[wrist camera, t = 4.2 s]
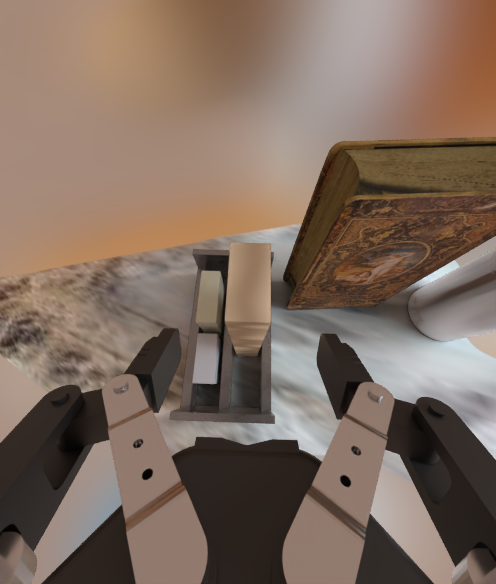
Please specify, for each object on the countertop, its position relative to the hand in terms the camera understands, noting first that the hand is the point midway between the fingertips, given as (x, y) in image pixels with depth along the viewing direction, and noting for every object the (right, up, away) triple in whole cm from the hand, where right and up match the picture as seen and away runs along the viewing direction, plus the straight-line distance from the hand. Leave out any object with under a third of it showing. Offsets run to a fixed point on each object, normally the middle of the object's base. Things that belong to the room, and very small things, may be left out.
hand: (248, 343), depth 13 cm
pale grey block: (-5, -8, +22) cm, 24 cm away
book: (+14, +3, +27) cm, 30 cm away
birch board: (0, -4, +24) cm, 24 cm away
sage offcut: (-5, -1, +25) cm, 25 cm away
